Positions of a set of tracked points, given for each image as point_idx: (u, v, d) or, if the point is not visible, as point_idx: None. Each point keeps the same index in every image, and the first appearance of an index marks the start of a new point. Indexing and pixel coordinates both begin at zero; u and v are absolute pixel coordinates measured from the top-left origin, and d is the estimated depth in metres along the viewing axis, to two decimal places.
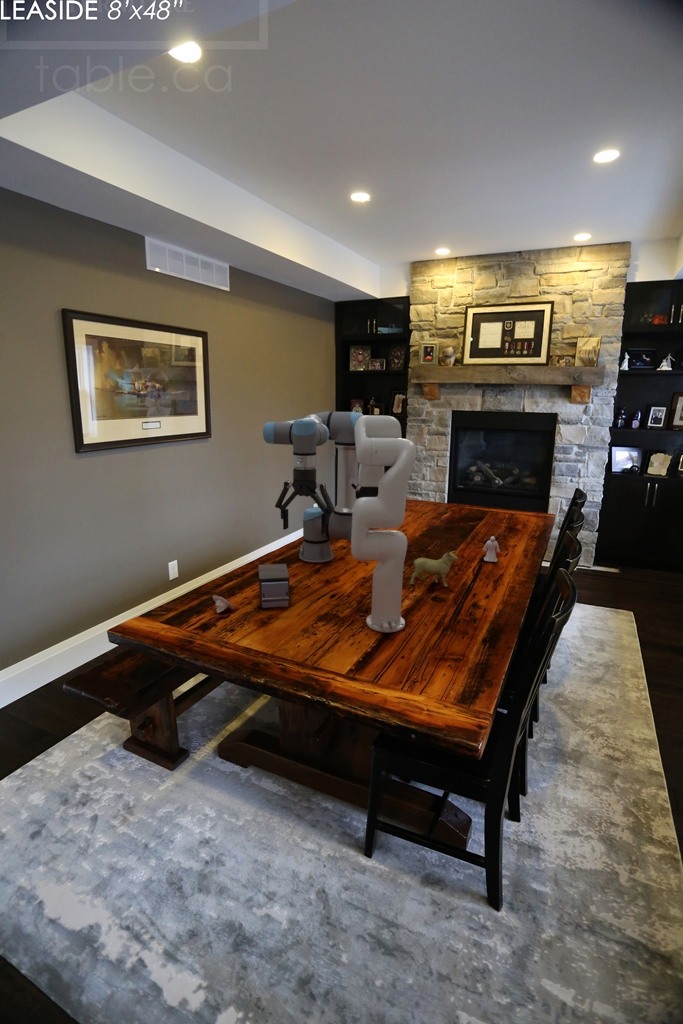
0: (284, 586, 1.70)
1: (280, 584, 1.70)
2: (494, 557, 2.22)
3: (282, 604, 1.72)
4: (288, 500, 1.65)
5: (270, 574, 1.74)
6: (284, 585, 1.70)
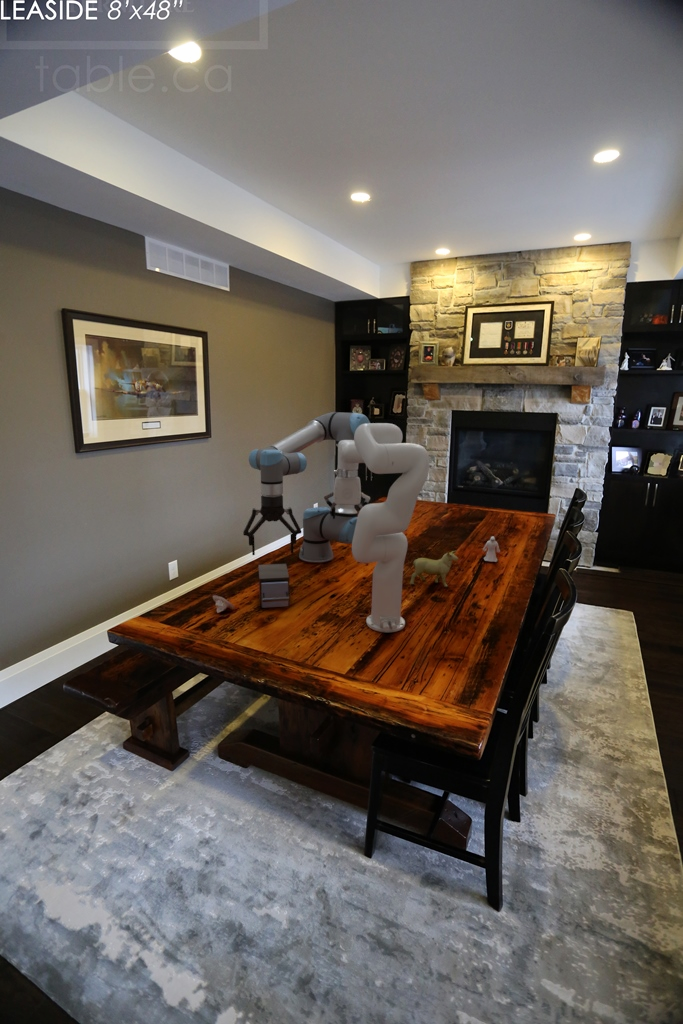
0: (284, 586, 1.70)
1: (280, 584, 1.70)
2: (494, 557, 2.22)
3: (282, 604, 1.72)
4: None
5: (270, 574, 1.74)
6: (284, 585, 1.70)
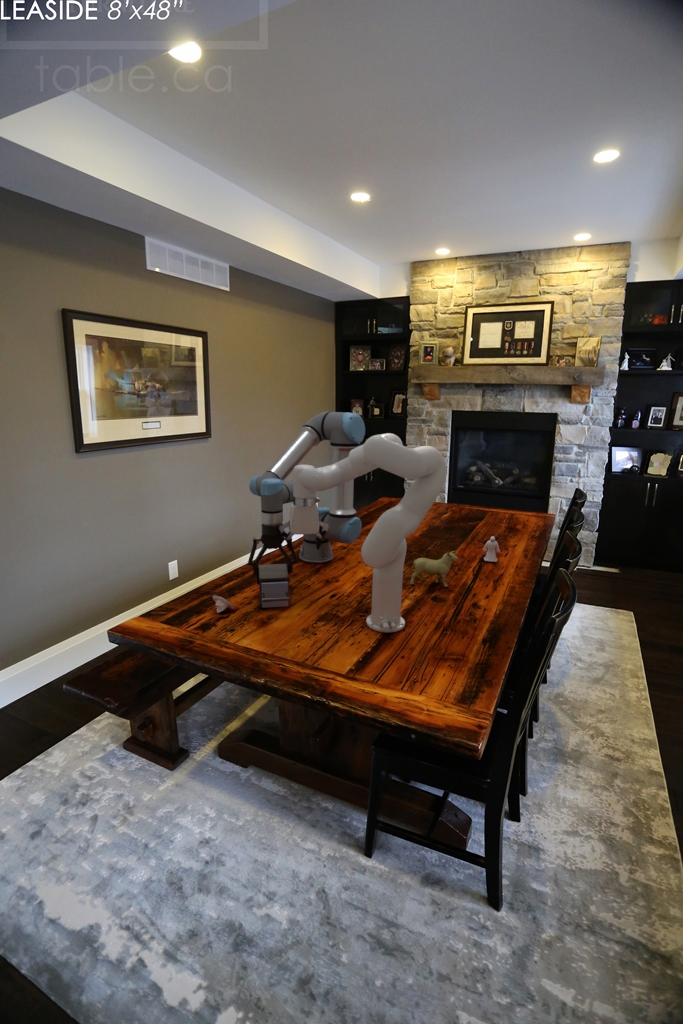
0: (284, 586, 1.70)
1: (280, 584, 1.70)
2: (494, 557, 2.22)
3: (282, 604, 1.72)
4: None
5: (270, 574, 1.74)
6: (284, 585, 1.70)
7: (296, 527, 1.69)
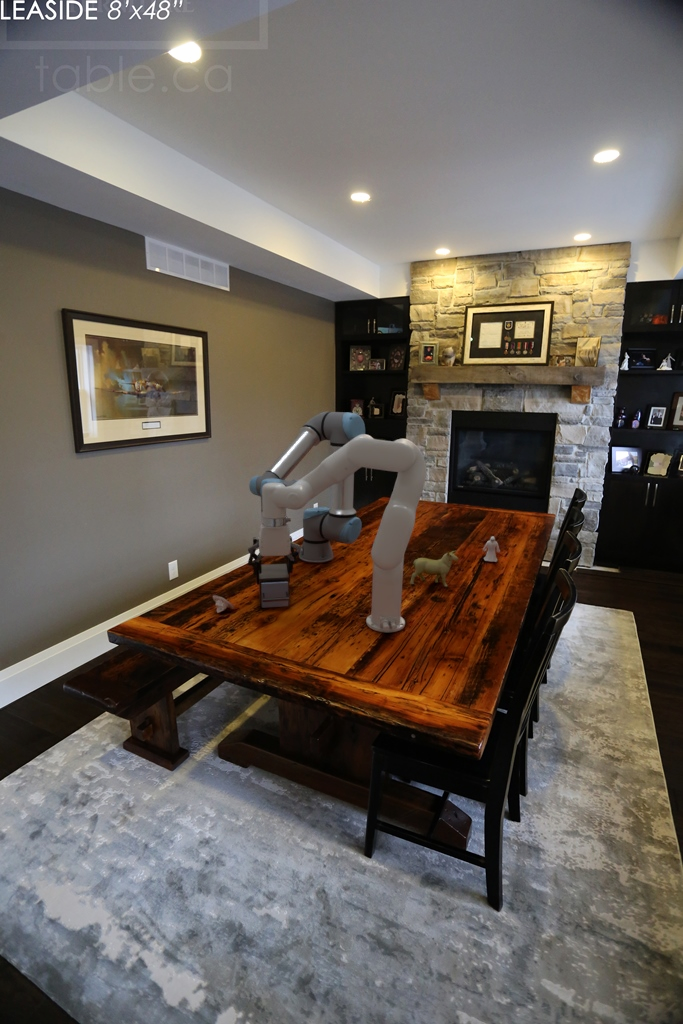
0: (284, 586, 1.70)
1: (280, 584, 1.70)
2: (494, 557, 2.22)
3: (282, 604, 1.72)
4: None
5: (270, 574, 1.74)
6: (284, 585, 1.70)
7: (265, 548, 1.60)
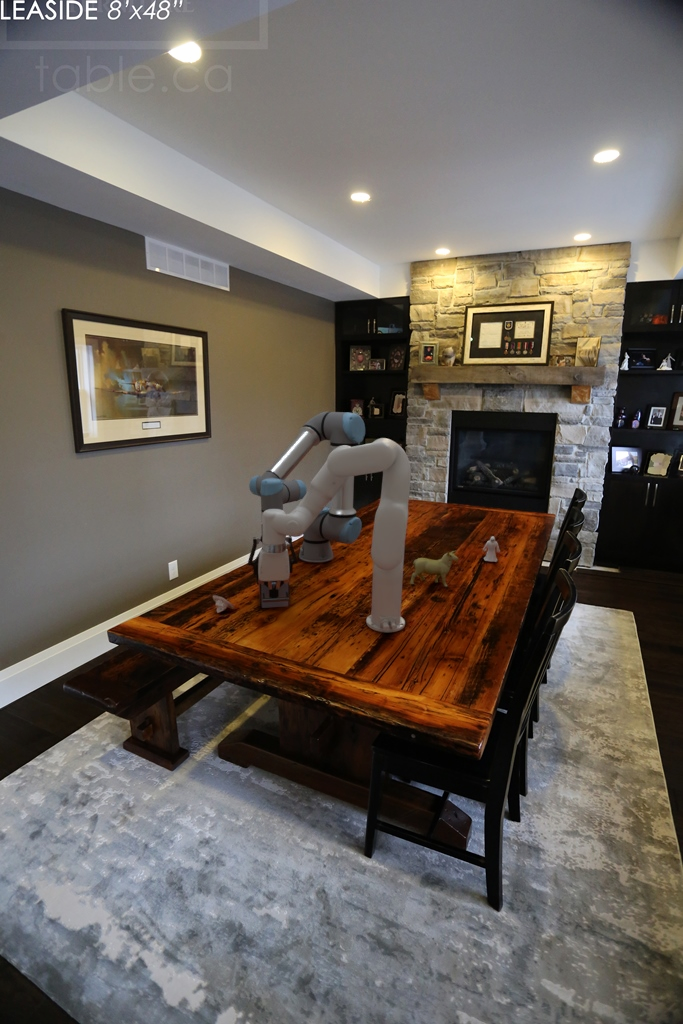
0: (284, 586, 1.70)
1: None
2: (494, 557, 2.22)
3: (282, 604, 1.72)
4: None
5: None
6: (284, 585, 1.70)
7: (264, 574, 1.62)
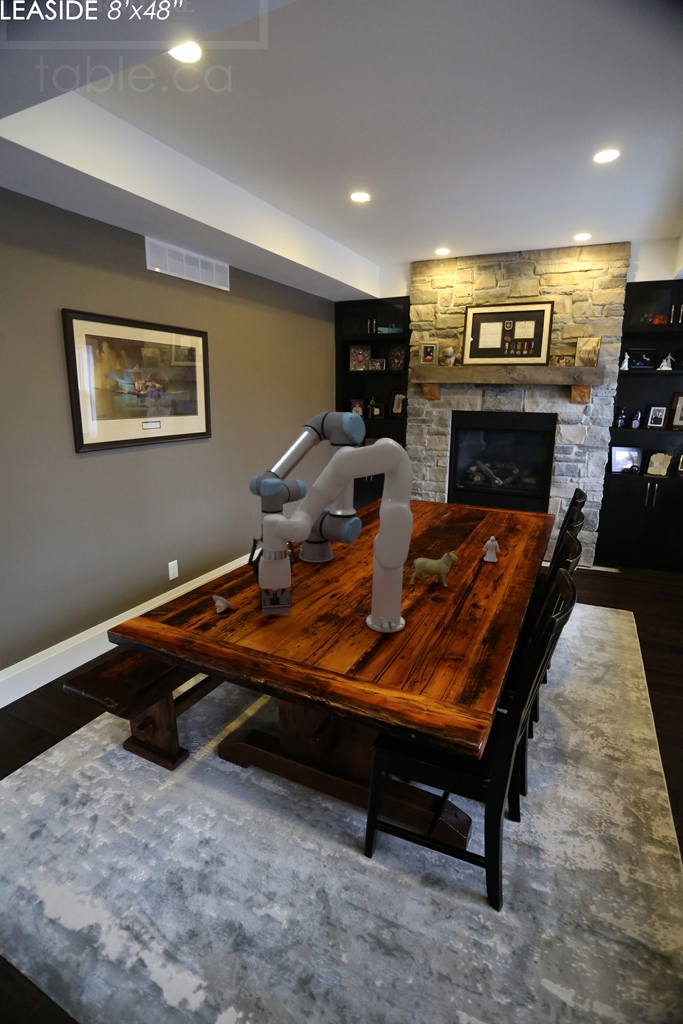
0: (285, 593, 1.65)
1: None
2: (494, 557, 2.22)
3: (283, 611, 1.66)
4: None
5: None
6: (285, 591, 1.65)
7: (265, 581, 1.57)
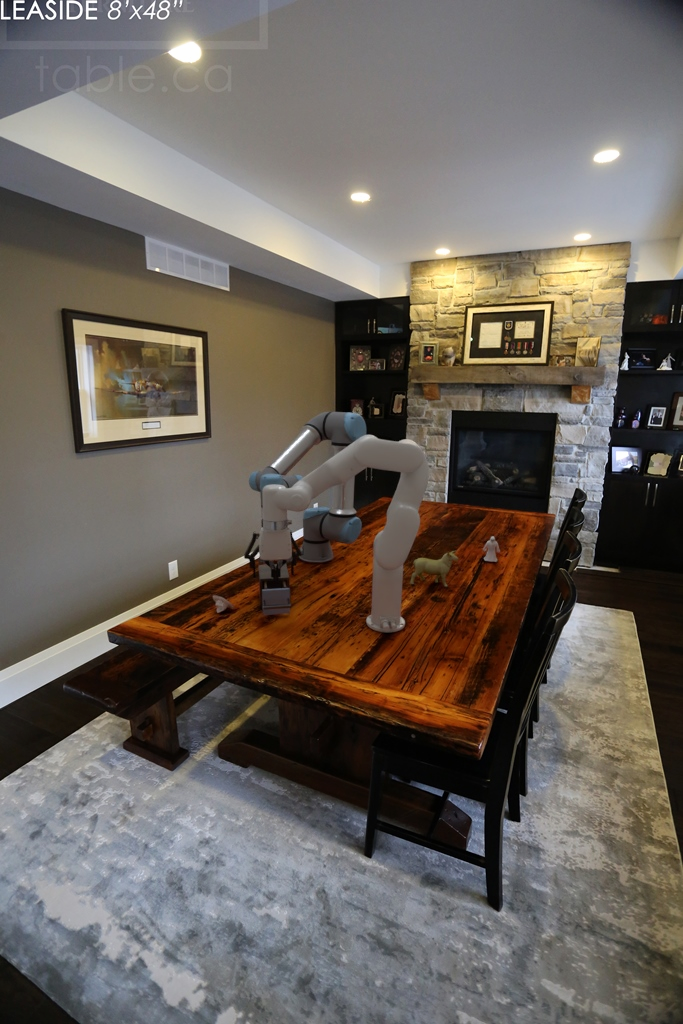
0: (286, 593, 1.65)
1: (281, 591, 1.64)
2: (494, 557, 2.22)
3: (283, 611, 1.66)
4: None
5: None
6: (285, 591, 1.65)
7: (265, 552, 1.55)
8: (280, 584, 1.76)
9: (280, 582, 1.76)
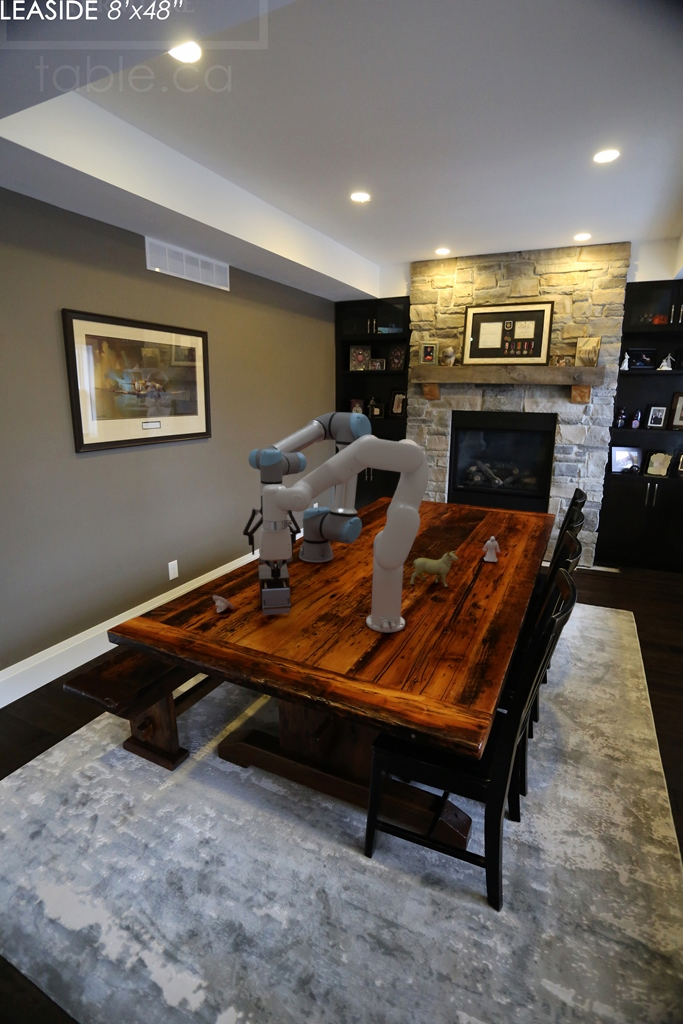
0: (286, 593, 1.65)
1: (281, 591, 1.64)
2: (494, 557, 2.22)
3: (283, 611, 1.66)
4: None
5: None
6: (285, 591, 1.65)
7: (265, 552, 1.55)
8: (280, 584, 1.76)
9: (280, 582, 1.76)
